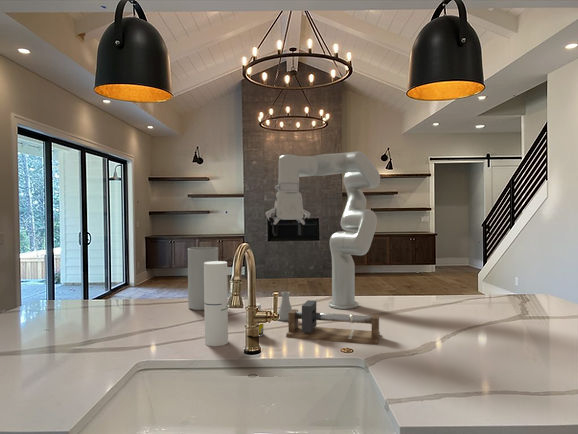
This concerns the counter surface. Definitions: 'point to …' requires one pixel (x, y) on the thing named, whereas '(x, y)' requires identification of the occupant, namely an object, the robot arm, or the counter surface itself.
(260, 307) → the supplement bottle
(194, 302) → the cylinder vase
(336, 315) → the steel pipe
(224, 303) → the cylindrical container
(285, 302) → the flask
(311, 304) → the rubber collar
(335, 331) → the pipe stand
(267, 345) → the counter surface
